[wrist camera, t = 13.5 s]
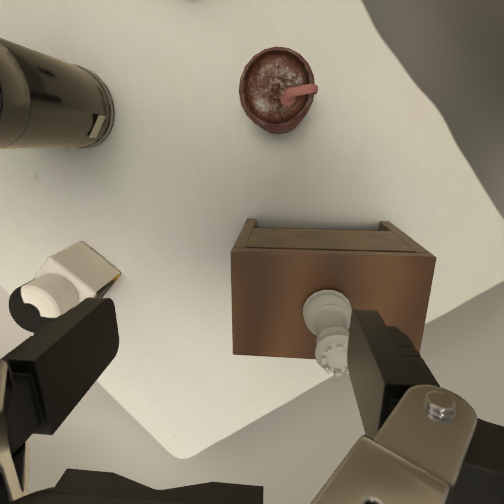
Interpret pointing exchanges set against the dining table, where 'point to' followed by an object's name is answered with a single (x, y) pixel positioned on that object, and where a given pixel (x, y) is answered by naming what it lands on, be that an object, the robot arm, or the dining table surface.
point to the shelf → (323, 283)
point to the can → (277, 89)
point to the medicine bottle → (61, 286)
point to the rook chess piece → (329, 328)
